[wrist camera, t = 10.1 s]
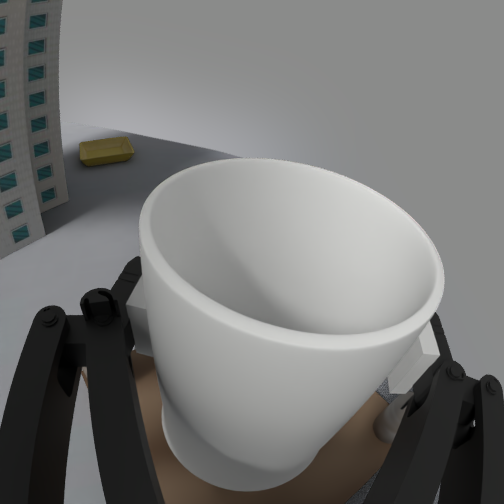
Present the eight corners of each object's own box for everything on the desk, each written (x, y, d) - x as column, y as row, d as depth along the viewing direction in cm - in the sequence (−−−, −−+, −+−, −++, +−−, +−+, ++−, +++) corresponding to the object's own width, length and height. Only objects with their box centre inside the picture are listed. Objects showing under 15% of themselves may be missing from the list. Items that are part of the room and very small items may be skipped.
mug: (300, 314, 22) (354, 144, 15) (387, 402, 17) (507, 241, 10) (135, 386, 16) (94, 176, 9) (219, 522, 11) (270, 462, 3)
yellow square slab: (127, 146, 52) (127, 135, 51) (135, 164, 46) (135, 151, 45) (80, 153, 48) (79, 142, 47) (81, 172, 42) (79, 159, 41)
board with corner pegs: (84, 378, 19) (67, 344, 16) (266, 298, 27) (275, 262, 25) (221, 587, 9) (226, 598, 7) (407, 433, 18) (438, 407, 16)
